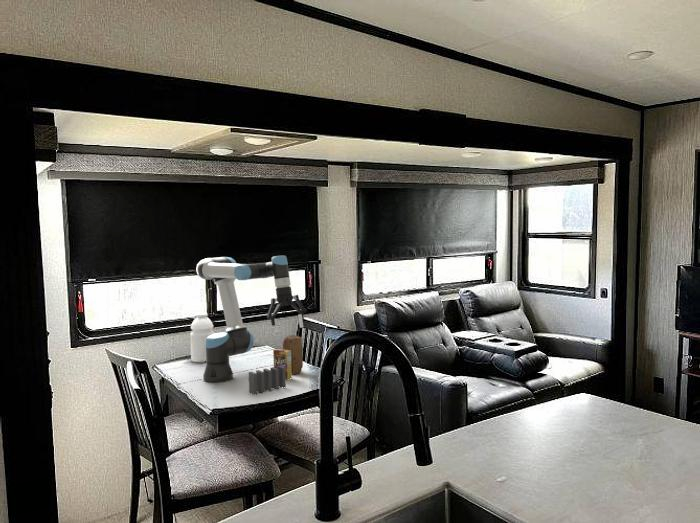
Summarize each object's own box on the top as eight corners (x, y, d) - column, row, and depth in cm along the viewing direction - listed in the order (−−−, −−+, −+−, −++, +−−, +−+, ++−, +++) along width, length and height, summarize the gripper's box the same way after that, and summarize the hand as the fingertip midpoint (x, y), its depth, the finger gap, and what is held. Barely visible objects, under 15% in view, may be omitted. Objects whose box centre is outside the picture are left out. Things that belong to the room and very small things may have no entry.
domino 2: (256, 390, 265) (256, 370, 264) (259, 390, 266) (259, 370, 265) (261, 393, 261) (261, 372, 260) (264, 392, 262) (264, 372, 261)
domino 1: (249, 392, 262) (248, 372, 262) (252, 391, 263) (251, 371, 263) (254, 394, 259) (253, 374, 258) (257, 394, 260) (256, 373, 259)
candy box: (273, 378, 286) (272, 349, 284) (278, 376, 289) (277, 347, 288) (287, 380, 281) (286, 351, 280) (292, 378, 285) (291, 349, 284)
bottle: (195, 356, 332) (194, 311, 330) (217, 356, 332) (216, 311, 330) (187, 362, 318) (186, 315, 316) (211, 362, 318) (209, 315, 316)
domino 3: (263, 389, 267) (263, 369, 267) (266, 388, 268) (266, 368, 268) (268, 391, 264) (268, 371, 263) (271, 390, 265) (271, 370, 264)
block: (304, 373, 295) (303, 336, 293) (293, 375, 290) (292, 338, 288) (292, 369, 303) (291, 333, 301) (281, 371, 298) (280, 335, 296)
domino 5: (277, 385, 272) (277, 366, 272) (280, 385, 273) (280, 365, 273) (283, 388, 269) (282, 368, 268) (285, 387, 270) (285, 367, 269)
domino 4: (270, 387, 270) (270, 367, 269) (273, 386, 271) (273, 367, 270) (276, 389, 266) (275, 369, 265) (278, 389, 267) (278, 369, 266)
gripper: (261, 289, 258) (268, 334, 257) (309, 283, 271) (315, 325, 270) (256, 290, 265) (262, 334, 264) (302, 284, 277) (308, 325, 276)
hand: (289, 329), depth 267 cm, fingers open, 13 cm apart
